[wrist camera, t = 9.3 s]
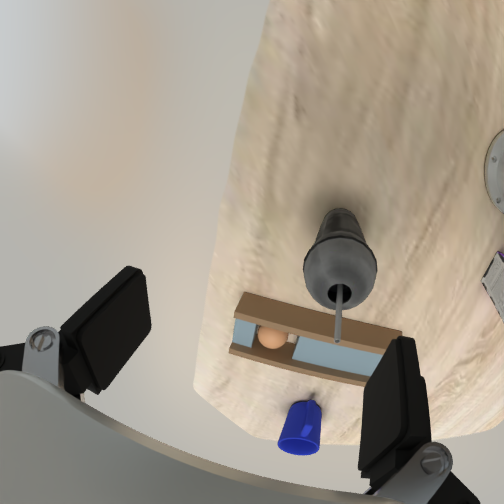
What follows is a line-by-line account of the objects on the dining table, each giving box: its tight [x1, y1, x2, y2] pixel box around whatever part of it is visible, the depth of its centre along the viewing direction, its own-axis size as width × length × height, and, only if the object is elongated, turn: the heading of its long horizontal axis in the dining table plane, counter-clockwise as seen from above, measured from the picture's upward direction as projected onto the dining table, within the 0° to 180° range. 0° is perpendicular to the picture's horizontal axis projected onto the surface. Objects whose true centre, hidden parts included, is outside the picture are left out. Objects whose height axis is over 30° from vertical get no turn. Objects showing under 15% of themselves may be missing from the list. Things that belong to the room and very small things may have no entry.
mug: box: [278, 400, 322, 455], centre depth 52 cm, size 8×12×10 cm
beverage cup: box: [303, 208, 377, 343], centre depth 29 cm, size 7×7×20 cm
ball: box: [258, 325, 288, 349], centre depth 46 cm, size 5×5×5 cm
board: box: [229, 292, 402, 387], centre depth 45 cm, size 26×9×5 cm, turn 81°
